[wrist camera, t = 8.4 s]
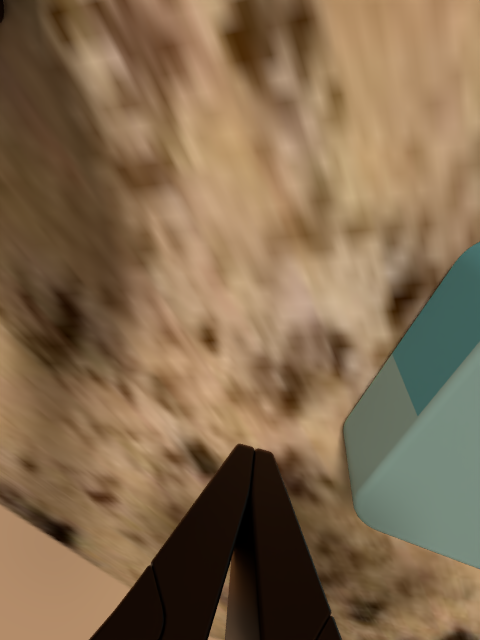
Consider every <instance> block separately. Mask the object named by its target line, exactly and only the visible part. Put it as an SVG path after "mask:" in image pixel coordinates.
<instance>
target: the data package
mask: <svg viewBox="0 0 480 640" xmlns="http://www.w3.org/2000/svg"><path fill="white" fill-rule="evenodd" d="M343 434H344V441H345V448H346V455H347V462H348V470H349V477H350V484H351V491H352V498H353V505H354V509H355V512H356V514H357V515H358V517H359V518H360V519H361V520H362V521H363V522H364V523H365V524H366V525H368V526H369V527H371V528H373V529H375V530H377V531H380V532H382V533H385V534H388V535H390V536H393V537H396V538H398V539H401V540H404V541H406V542H409V543H412V544H414V545H417V546H420V547H422V548H425V549H427V550H430V551H433V552H435V553H438V554H441V555H443V556H446V557H449V558H451V559H454V560H457V561H459V562H462V563H465V564H467V565H470V566H473V567H475V568H478V569H480V242H478V243H476V244H475V245H473V246H472V247H470V248H469V249H468V250H466V251H465V252H464V253H463V254H462V255H461V256H460V257H459V258H458V260H457V261H456V262H455V264H454V265H453V266H452V268H451V269H450V271H449V272H448V274H447V275H446V276H445V278H444V279H443V281H442V282H441V284H440V285H439V287H438V288H437V289H436V291H435V292H434V294H433V295H432V297H431V298H430V300H429V301H428V302H427V304H426V305H425V307H424V308H423V310H422V311H421V313H420V314H419V315H418V317H417V318H416V320H415V321H414V323H413V324H412V325H411V327H410V328H409V330H408V331H407V333H406V334H405V336H404V337H403V338H402V340H401V341H400V343H399V344H398V346H397V347H396V349H395V350H394V351H393V353H392V354H391V356H390V357H389V359H388V360H387V362H386V363H385V364H384V366H383V367H382V369H381V370H380V372H379V373H378V375H377V376H376V377H375V379H374V380H373V382H372V383H371V385H370V386H369V387H368V389H367V390H366V392H365V393H364V395H363V396H362V398H361V399H360V400H359V402H358V403H357V405H356V406H355V408H354V409H353V411H352V412H351V413H350V415H349V416H348V418H347V419H346V421H345V424H344V428H343Z"/></svg>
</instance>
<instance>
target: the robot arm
mask: <svg viewBox="0 0 480 640" xmlns="http://www.w3.org/2000/svg"><path fill="white" fill-rule="evenodd" d="M3 17H4V4H3V0H0V23H1V21H2V19H3ZM230 562H231V570H230V582H229V595H228V607H227V619H226V632H225V640H342V638H341V636H340V633H339V630H338V628H337V625H336V622H335V619H334V617H333V616H330V615H331V609H330V606H329V604H328V601H327V598H326V596H325V593H324V590H323V588H322V585H321V582H320V579H319V577H318V574H317V571H316V569H315V566H314V563H313V560H312V558H311V555H310V552H309V550H308V547H307V544H306V542H305V539H304V536H303V533H302V531H301V528H300V525H299V523H298V520H297V517H296V515H295V512H294V509H293V506H292V504H291V501H290V498H289V496H288V493H287V490H286V488H285V485H284V482H283V479H282V477H281V474H280V471H279V469H278V466H277V463H276V461H275V458H274V455H273V454H272V453H271V452H269V451H266V450H262V449H255V450H254V448H253V447H251V446H247V445H243V444H237V445H236V446H235V448H234V449H233V450H232V452H231V453H230V455H229V456H228V457H227V459H226V460H225V461H224V463H223V464H222V466H221V467H220V468H219V470H218V471H217V472H216V474H215V475H214V477H213V478H212V479H211V481H210V482H209V483H208V485H207V486H206V487H205V489H204V490H203V492H202V493H201V494H200V496H199V497H198V498H197V500H196V501H195V503H194V504H193V505H192V507H191V508H190V509H189V511H188V512H187V514H186V515H185V516H184V518H183V519H182V520H181V522H180V523H179V525H178V526H177V527H176V529H175V530H174V531H173V533H172V534H171V536H170V537H169V538H168V540H167V541H166V542H165V544H164V545H163V547H162V548H161V549H160V551H159V552H158V553H157V555H156V556H155V557H154V559H153V560H152V562H151V565H149V566H148V567H147V568H146V569H145V571H144V572H143V574H142V575H141V576H140V578H139V579H138V580H137V582H136V583H135V584H134V586H133V587H132V588H131V590H130V591H129V592H128V593H127V595H126V596H125V597H124V599H123V600H122V601H121V602H120V604H119V605H118V606H117V608H116V609H115V610H114V611H113V613H112V614H111V615H110V616H109V617H108V618H107V620H106V621H105V622H104V623H103V624H102V625H101V626H100V628H99V629H98V630H97V631H96V632H95V634H94V635H93V636H92V637H91V638H90V639H89V640H208V637H209V633H210V630H211V626H212V623H213V620H214V616H215V613H216V609H217V606H218V603H219V599H220V596H221V592H222V589H223V585H224V582H225V579H226V575H227V572H228V568H229V565H230Z"/></svg>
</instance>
